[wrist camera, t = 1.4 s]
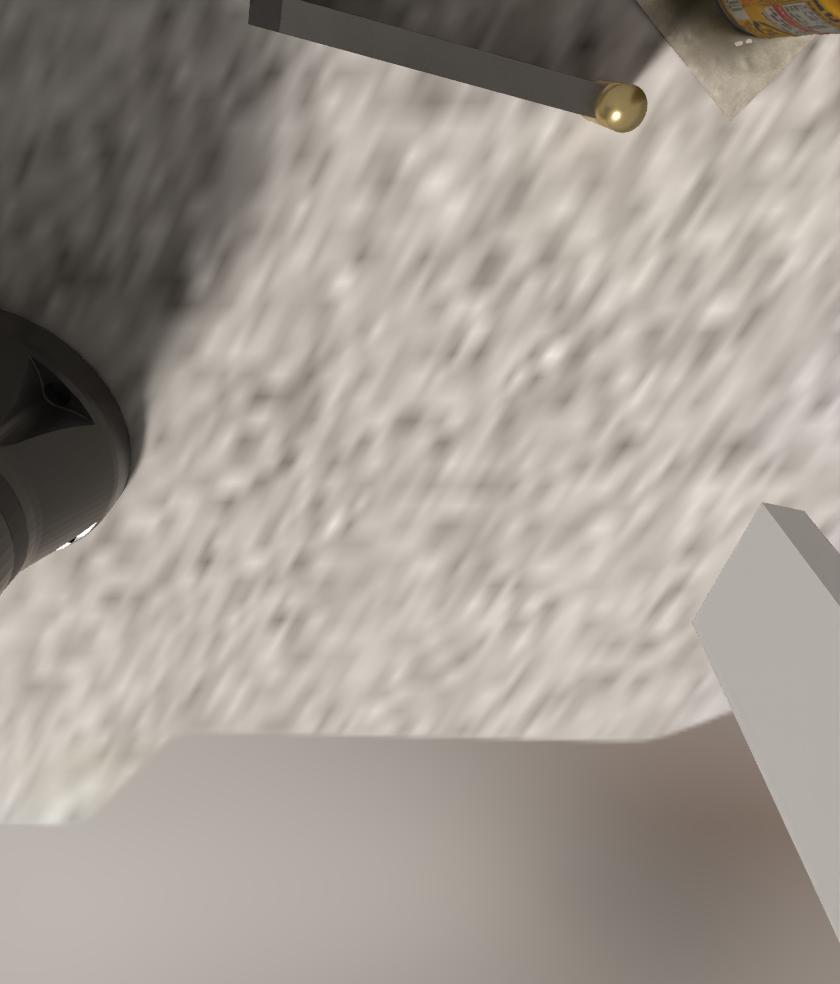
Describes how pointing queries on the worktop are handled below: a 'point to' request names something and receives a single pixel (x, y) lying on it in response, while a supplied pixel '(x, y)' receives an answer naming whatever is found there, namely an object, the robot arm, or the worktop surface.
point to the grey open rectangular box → (455, 62)
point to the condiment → (737, 17)
